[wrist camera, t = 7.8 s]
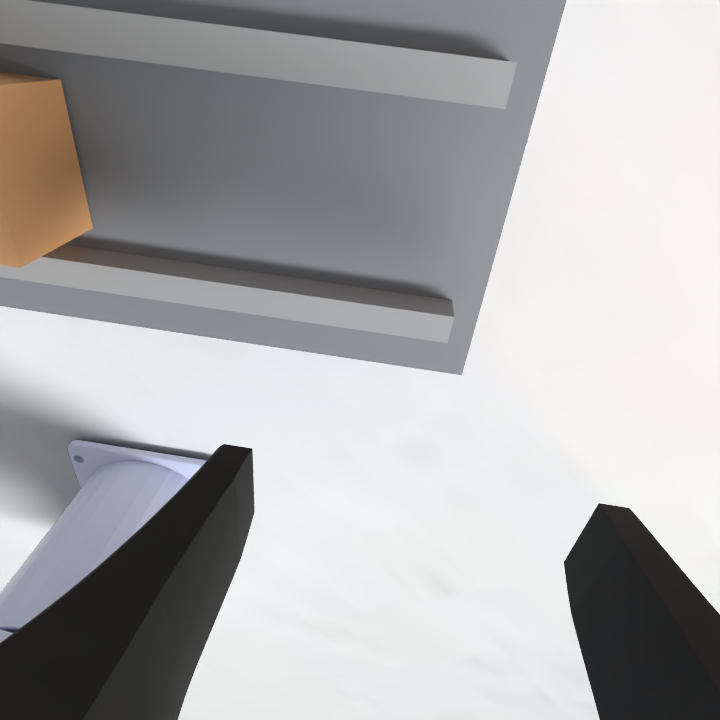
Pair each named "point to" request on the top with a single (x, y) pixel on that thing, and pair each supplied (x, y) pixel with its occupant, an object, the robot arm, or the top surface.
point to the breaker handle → (37, 171)
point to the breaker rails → (286, 165)
